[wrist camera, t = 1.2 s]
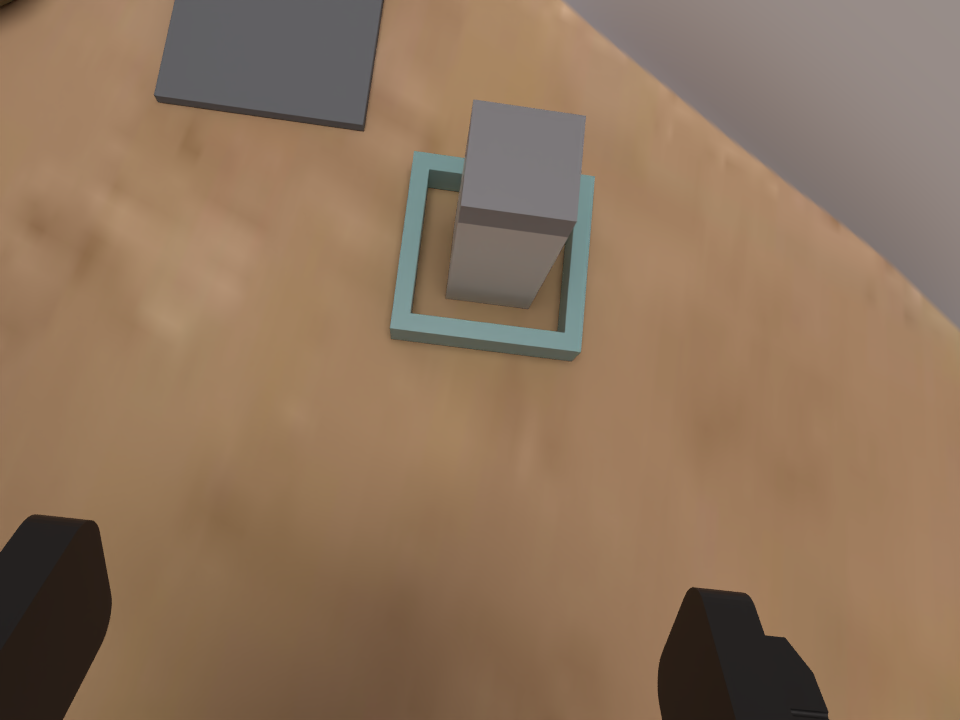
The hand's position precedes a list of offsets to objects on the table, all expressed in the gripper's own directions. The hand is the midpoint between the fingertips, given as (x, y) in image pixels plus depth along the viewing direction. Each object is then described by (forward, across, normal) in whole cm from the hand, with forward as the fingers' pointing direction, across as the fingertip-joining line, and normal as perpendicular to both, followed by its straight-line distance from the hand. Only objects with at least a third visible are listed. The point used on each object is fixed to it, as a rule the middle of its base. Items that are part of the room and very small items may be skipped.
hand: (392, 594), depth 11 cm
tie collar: (+27, -2, +7) cm, 28 cm away
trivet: (+34, +10, 0) cm, 36 cm away
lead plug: (+27, -2, +8) cm, 28 cm away
